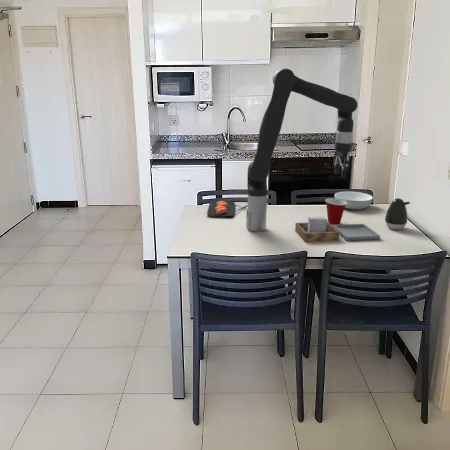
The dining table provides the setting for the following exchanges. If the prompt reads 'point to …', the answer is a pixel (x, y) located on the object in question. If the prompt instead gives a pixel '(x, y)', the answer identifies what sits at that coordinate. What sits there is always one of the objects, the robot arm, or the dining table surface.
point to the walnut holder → (317, 233)
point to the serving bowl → (354, 199)
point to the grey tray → (356, 232)
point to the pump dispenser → (396, 214)
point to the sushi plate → (222, 208)
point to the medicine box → (317, 224)
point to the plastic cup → (335, 210)
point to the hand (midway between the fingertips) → (340, 175)
